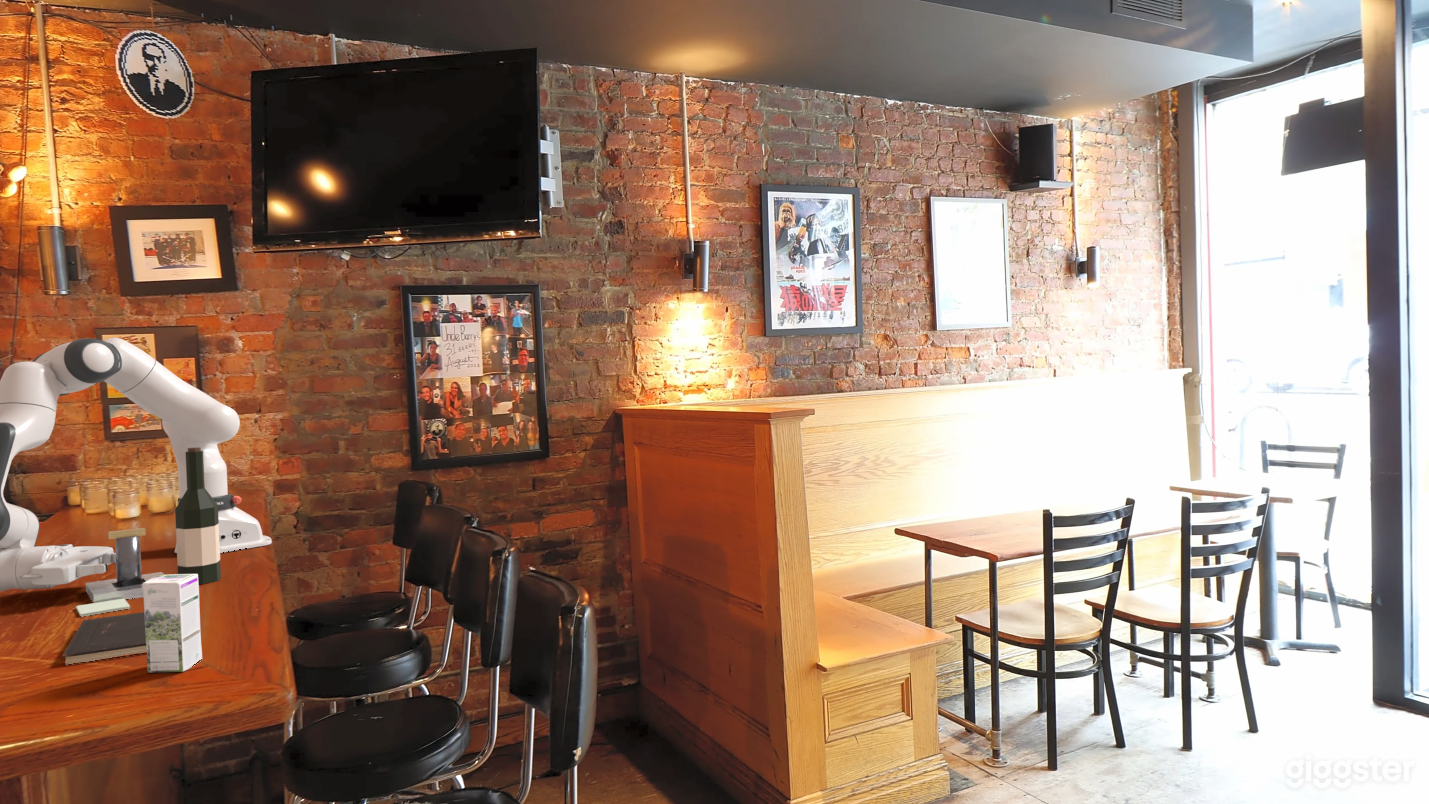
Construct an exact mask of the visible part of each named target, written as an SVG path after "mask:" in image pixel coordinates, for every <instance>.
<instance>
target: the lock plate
mask: <svg viewBox="0 0 1429 804" xmlns="http://www.w3.org/2000/svg"><path fill="white" fill-rule="evenodd" d="M141 575H142V584H138V585H131V586H124V587H118V588H117V577H116V578H110V579H104V580H97V581H90V582H85V593H86V592H87V593H86V595H87V594H88V595H89V596H88V595H87V596H88V598H89V597H90V598H89V600H90V601H91V600H92V601H91V603H92V602H93V603H98V602H105V601H111V600H117V599H123V598H124V599H125V600H126V599H129V600H135V599H140V598H144V595H143V583H144V582H146V581H148V580H150V579H152V578H154V577H156V576H160V575H166V574H164V572H162V571H160V572H152V573H144V574H141ZM132 598H133V599H132ZM134 598H135V599H134ZM126 601H127V600H126Z"/></svg>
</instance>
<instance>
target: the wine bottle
mask: <svg viewBox="0 0 1429 804" xmlns="http://www.w3.org/2000/svg"><path fill="white" fill-rule="evenodd" d="M185 453H186V475H187V491H186V492H185V494H184V496H183V497H182V499H181V501H180V502H179V504H178V505H176V508H175V509H174V513H175V514H174V516H175V537H176V538H175V539H176V541H175V542H176V544H177V553H176V559H177V563H176V564H177V574H198V582H199V584H203V585H206V584H205V583H208V584H211V583H210V582H212V583H216V582H218V581H219V580H221V578H222V573H221V572H222V569H221V553H220V542H219V519H218V505H217V503H216V502H215V501H214V499H213V498H212V497H211V496H210V494H209V493H208V492H207V490H206V489H205V484H204V461H203V451H201V447H193V448H188V452H185ZM215 581H216V582H215Z"/></svg>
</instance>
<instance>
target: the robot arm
mask: <svg viewBox="0 0 1429 804" xmlns="http://www.w3.org/2000/svg"><path fill="white" fill-rule="evenodd" d="M103 382H105V383H107V384H109V385H110V386H111V388H113V389H114V390H116V391H118V392H119V393H120V394H122V395H123V396H124V397H125V398H127V399H129V400H130V401H132V403H134V404H135V405H137V406H138V407H140V408H141V409H142V410H144V411H145V412H147V413H149V414H151V415H153V416H156V417H157V418H159V419H161V424H162V425H161V426H162V428H163V431H164V432H165V434H166V435H167V437H168V438H169V442H170V445H171V449H172V451H173V454H174V458H175V461H176V462H175V463H176V465H177V466H176V467H177V475H178V476H177V477H178V490H179V491H178V493H179V497H178V498H177V503H176V504H177V505H178V504H179V502H180V501H181V499H182V497H183V496H184V494H185V492H186V491H187V475H186V453H185V452H188V448H193V447H201V451H203V461H204V484H205V489H206V490H207V492H208V493H209V494H210V496H211V497H212V498H213V499H214V501H215V502H216V503H217V505H218V519H219V542H220V554H223V552H224V553H228V551H229V552H233V551H234V550H235V551H240V550H239V549H241V550H246V549H245V548H247V549H252V548H258V547H263V546H269V545H271V544H272V543H273V541H272V538H271V537H270V536H267V535H263V529H262V527H261V524H260V522H259V520H258V519H256V518H255V517H253V516H252V515H250V514H249V513H247V512H245V511H243V510H242V509H240V508H239V507H237V505H239V504H241V502H242V500H243V499H242V498H241V497H240V496H238V495H233V494H230V493H228V492H229V490H228V489H229V487H228V467H227V463H226V462H225V460H224V459H223V458H222V456H221V453H220V451H219V447H218V444H221V443H224V442H227V441H230V440H232V439H233V438H234V437H235V436H236V434H238V433H239V430H240V426H241V421H240V417H239V414H238V413H237V412H236V410H235V409H233V408H231V407H230V406H228V405H226V404H224V403H223V402H220V401H218V400H217V399H215V398H213V397H212V396H210V395H209V394H207V393H205V392H204V391H202V390H200V389H199V388H197V387H195V386H194V385H191V384H190V383H188V382H186V381H184V380H183V379H181V378H180V377H178V376H177V375H176V374H175V373H173V372H172V371H171V370H170V369H168V368H166V367H165V365H163V364H162V363H160V362H159V361H157V359H155V358H153V357H152V356H151V355H150V354H148V353H146V352H145V351H143V349H140V348H139V347H137V346H136V345H134V344H132V343H131V342H129V341H126V340H125V339H122V338H119V337H110V338H106V339H104V340H102V339H97V338H91V337H83V338H77V339H75V340H73V341H69V342H65V343H63V344H59V345H57V346H55V347H54V348H52V349H50V350H48V351H47V352H43V353H41V354H39V355H37V356H36V357H35V358H34V359H32V361H28V360H27V361H19V362H15V363H12V364H11V365H9V366H8V367H7V368H6V369H5V370H4V372H3V374H2V376H1V378H0V592H4V591H5V592H6V591H8V590H12V589H19V590H24V591H26V590H37V589H40V590H41V589H52V588H54V587H56V586H57V585H66V584H70V583H72V582H74V581H76V580H79V579H80V578H83V577H85V576H86V577H87V576H91V575H96V574H97V575H98V574H99V575H100V574H104V573H106V572H107V571H108V570H109V568H108V565H111V564H116V552H114V549H113V548H114V547H110V546H96V545H94V546H93V545H92V546H91V545H88V546H87V545H86V546H85V545H82V546H80V545H79V546H73V544H71V543H70V544H69V543H67V544H59V545H43V546H41V545H39V546H36V542H37V539H38V536H39V532H40V521H39V518H38V516H37V515H36V514H35V513H34V512H33V511H31V510H29V509H27V508H24V507H21V506H20V505H16V504H11V503H9V502H7V501H6V499H5V497H4V496H5V495H4V490H5V486H6V482H7V478H8V475H9V471H10V468H11V464H12V461H13V459H14V458H15V456H16V455H18V453H20V452H24V451H29V450H32V449H35V448H38V447H40V446H42V445H43V444H45V443H46V442H47V441H48V440H50V437H51V435H52V433H53V430H54V427H55V423H56V415H57V407H58V400H59V397H63V396H67V395H69V394H72V393H77V392H80V391H83V390H87V389H88V388H90V387H92V386H94V385H96V384H98V383H103ZM177 505H176V506H177ZM174 553H175V554H177V543H176V545H175V549H174Z"/></svg>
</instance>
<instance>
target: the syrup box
mask: <svg viewBox="0 0 1429 804" xmlns="http://www.w3.org/2000/svg"><path fill="white" fill-rule="evenodd" d="M199 586H200V585H199V582H198V574H178V573H177V574H176V573H174V574H170V573H169V574H165V575H160V576H156V577H154V578H152V579H150V580H148V581H146V582H144V583H143V595H144V597H143V608H144V609H143V610H144V611H143V612H144V613H145V634H146V651H147V654H146V665H147V673H181V672H185V671H187V670H189V669H191V668H193V667H194V666H195V665H194V664H196V663H197V662H198V661H199V660H201V659H202V660H203V650H202V649H203V648H202V637H201V633H202V632H201V613H200V611H201V610H200V587H199ZM197 664H198V663H197ZM197 664H196V665H197ZM193 665H194V666H193ZM192 666H193V667H192Z"/></svg>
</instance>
